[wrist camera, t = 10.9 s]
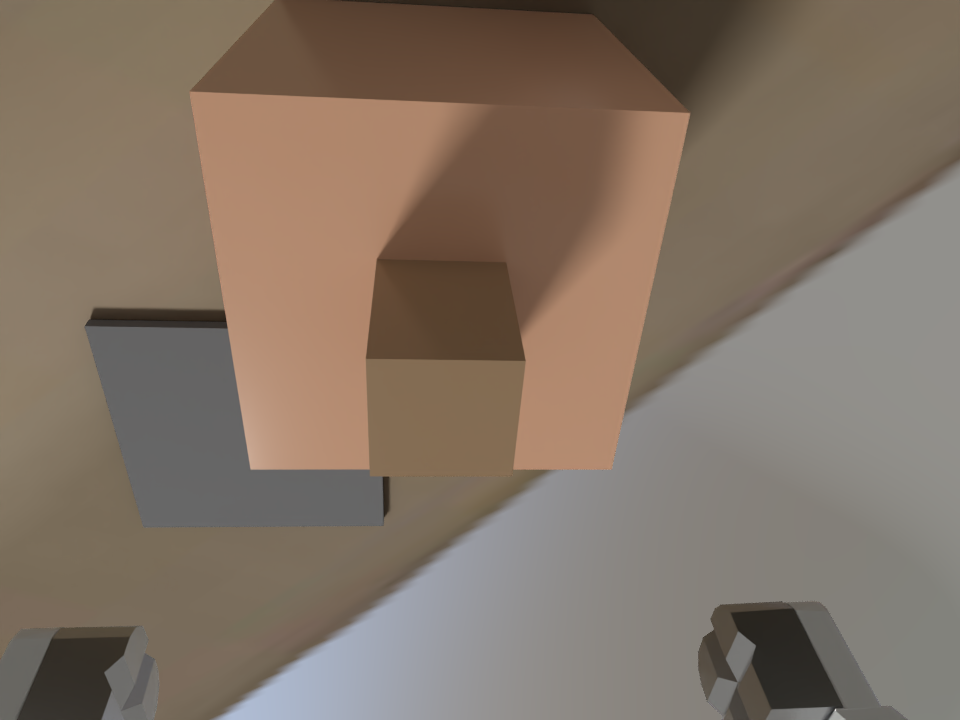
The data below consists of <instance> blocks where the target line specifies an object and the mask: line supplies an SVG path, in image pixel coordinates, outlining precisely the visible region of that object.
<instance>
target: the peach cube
mask: <svg viewBox="0 0 960 720" xmlns="http://www.w3.org/2000/svg"><path fill="white" fill-rule="evenodd" d="M190 97H191V104H192V110H193V116H194V122H195V128H196V135H197V141H198V147H199V153H200V159H201V166H202V172H203V178H204V184H205V190H206V197H207V203H208V209H209V215H210V221H211V227H212V234H213V240H214V246H215V252H216V258H217V265H218V271H219V277H220V283H221V289H222V296H223V302H224V308H225V314H226V320H227V327H228V333H229V339H230V345H231V351H232V358H233V364H234V370H235V376H236V382H237V389H238V395H239V401H240V407H241V413H242V420H243V426H244V432H245V438H246V444H247V450H248V457H249V463H250V469H251V470H302V469H303V470H304V469H370V476H512V475H513V469H612V465H613V461H614V456H615V452H616V447H617V443H618V438H619V434H620V429H621V425H622V420H623V416H624V411H625V406H626V402H627V397H628V393H629V388H630V384H631V379H632V375H633V370H634V366H635V361H636V357H637V352H638V348H639V343H640V339H641V334H642V330H643V325H644V321H645V316H646V312H647V307H648V303H649V298H650V294H651V289H652V285H653V280H654V275H655V271H656V266H657V262H658V257H659V253H660V248H661V244H662V239H663V235H664V230H665V226H666V221H667V217H668V212H669V208H670V203H671V199H672V194H673V190H674V185H675V181H676V176H677V172H678V167H679V163H680V158H681V153H682V149H683V144H684V140H685V135H686V131H687V126H688V122H689V117H690V112H689V111H688V110H687V109H686V108H685V107H684V106H683V105H682V104H681V103H680V102H679V101H678V100H677V99H676V98H675V97H674V96H673V95H672V94H671V93H670V92H669V91H668V90H667V89H666V88H665V87H664V86H663V85H662V84H661V83H660V82H659V81H658V80H657V79H656V78H655V77H654V76H653V75H652V74H651V73H650V72H649V70H648V69H647V68H646V67H645V66H644V65H643V64H642V63H641V62H640V61H639V60H638V59H637V58H636V57H635V56H634V55H633V54H632V53H631V52H630V51H629V50H628V49H627V48H626V47H625V46H624V45H623V44H622V43H621V42H620V41H619V40H618V39H617V38H616V37H615V36H614V35H613V34H612V33H611V32H610V31H609V30H608V29H607V28H606V27H605V26H604V25H603V24H602V23H601V22H600V21H599V20H598V19H597V18H596V17H595V16H594V15H593V14H576V13H558V12H539V11H521V10H502V9H484V8H465V7H447V6H429V5H410V4H392V3H373V2H355V1H336V0H275V1H274V2H273V3H272V4H271V5H270V6H269V7H268V8H267V9H266V10H265V11H264V12H263V13H262V14H261V16H260V17H259V18H258V19H257V20H256V21H255V22H254V23H253V24H252V25H251V26H250V27H249V28H248V29H247V31H246V32H245V33H244V34H243V35H242V36H241V37H240V38H239V39H238V40H237V41H236V42H235V43H234V44H233V46H232V47H231V48H230V49H229V50H228V51H227V52H226V53H225V54H224V55H223V56H222V57H221V58H220V59H219V61H218V62H217V63H216V64H215V65H214V66H213V67H212V68H211V69H210V70H209V71H208V72H207V73H206V74H205V76H204V77H203V78H202V79H201V80H200V81H199V82H198V83H197V84H196V85H195V86H194V87H193V88H192V89H191V91H190Z"/></svg>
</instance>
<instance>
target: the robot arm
mask: <svg viewBox="0 0 960 720" xmlns="http://www.w3.org/2000/svg"><path fill="white" fill-rule="evenodd" d="M711 622H712V624H713V627H714V630H713V631H712V632H710V633H709V634H707V635H706V636H704V637H703V640H702V643H701V645H700V648H699V652H698V659H699V660H698V667H699V674H700V680H701V685H702V688H703V691H704V694H705V697H706V700H707V702H708V703H709V704H710V705H711V706H712V707H713V708H715V709H716V710H717V711H718V712H719V713H720V714H721V715H722V720H908V719H907V718H906V717H904V716H903V715H902V714H901V713H899V712H898V711H897V710H895V709H894V708H893V707H892V706H881V705H880V703H879V701H878V699H877V698H876V696H875V694H874V692H873V690H872V688H871V687H870V685H869V683H868V681H867V680H866V678H865V676H864V674H863V672H862V671H861V669H860V667H859V665H858V663H857V662H856V660H855V658H854V656H853V655H852V653H851V651H850V649H849V647H848V645H847V644H846V642H845V640H844V638H843V637H842V635H841V633H840V631H839V629H838V627H837V626H836V624H835V622H834V620H833V619H832V617H831V615H830V613H829V612H828V610H827V608H826V607H825V606H823V605H822V604H821V603H820V602H817V601H805V602H803V601H802V602H782V601H781V602H764V603H744V604H726V605H720V606H719V607H717V608H715V610H714V612H713V615H712V617H711ZM147 643H148V638H147V635H146V633H145V630H144V628H143V626H115V627H75V628H64V627H57V628H30V629H21V630H20V631H19V632H18V633H17V634H16V635H15V636H14V637H13V639H12V640H11V641H10V642H9V644H8V646H7V648H6V650H5V652H4V654H3V656H2V658H1V660H0V720H154V716H155V712H156V708H157V701H158V692H159V675H158V668H157V665H156V661H155V659H154V658H152V657H150V656H149V655H147V654H146V653H145V650H146V646H147Z"/></svg>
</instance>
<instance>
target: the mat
mask: <svg viewBox="0 0 960 720" xmlns="http://www.w3.org/2000/svg"><path fill="white" fill-rule="evenodd" d="M85 329H86V333H87V336H88V339H89V343H90V346H91V350H92V353H93V356H94V360H95V363H96V367H97V370H98V374H99V377H100V380H101V384H102V387H103V391H104V394H105V397H106V401H107V404H108V408H109V411H110V415H111V418H112V421H113V425H114V428H115V432H116V435H117V438H118V442H119V445H120V449H121V452H122V456H123V459H124V462H125V466H126V469H127V473H128V476H129V479H130V483H131V486H132V490H133V493H134V497H135V500H136V503H137V507H138V510H139V514H140V517H141V520H142V524H143V527H275V526H383V525H384V499H383V476H370V469H304V470H303V469H302V470H251V469H250V463H249V457H248V450H247V444H246V438H245V432H244V426H243V420H242V413H241V407H240V401H239V395H238V389H237V382H236V376H235V370H234V364H233V358H232V351H231V345H230V339H229V333H228V327H227V322H203V321H143V320H89V321H88V322H87V324H86V325H85Z"/></svg>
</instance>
